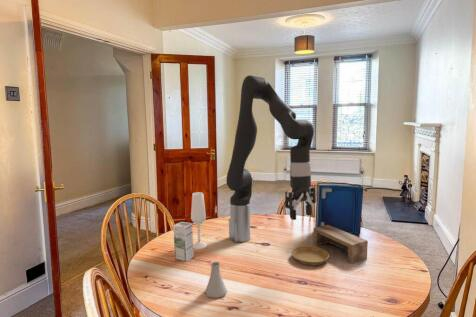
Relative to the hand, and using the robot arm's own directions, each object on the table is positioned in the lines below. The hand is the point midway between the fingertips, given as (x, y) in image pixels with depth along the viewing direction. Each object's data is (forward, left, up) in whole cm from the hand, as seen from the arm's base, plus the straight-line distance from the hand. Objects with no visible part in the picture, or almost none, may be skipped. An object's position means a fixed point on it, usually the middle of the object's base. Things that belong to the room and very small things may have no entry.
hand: (301, 217), depth 116 cm
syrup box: (-36, +29, -20) cm, 51 cm away
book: (+39, +18, -20) cm, 47 cm away
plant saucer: (+8, +3, -20) cm, 22 cm away
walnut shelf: (+23, +3, -20) cm, 31 cm away
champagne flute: (-26, +38, -20) cm, 51 cm away
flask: (-35, -1, -20) cm, 41 cm away
